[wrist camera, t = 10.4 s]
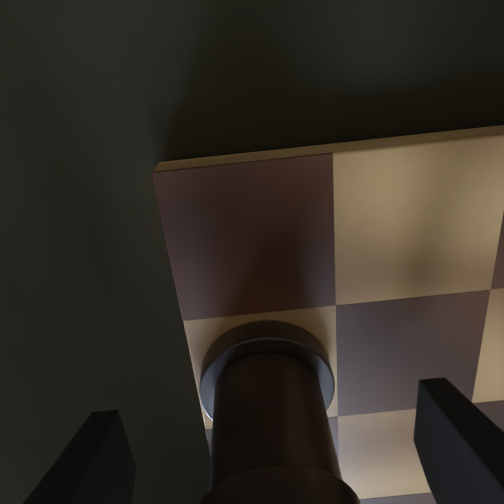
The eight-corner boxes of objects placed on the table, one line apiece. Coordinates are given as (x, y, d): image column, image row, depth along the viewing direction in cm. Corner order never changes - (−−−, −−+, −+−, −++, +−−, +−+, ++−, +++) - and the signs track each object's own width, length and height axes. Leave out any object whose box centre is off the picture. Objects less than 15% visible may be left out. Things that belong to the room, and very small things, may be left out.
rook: (331, 412, 13) (380, 612, 9) (210, 424, 13) (198, 629, 9) (328, 312, 12) (387, 494, 7) (191, 326, 12) (163, 516, 7)
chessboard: (612, 571, 20) (629, 596, 19) (246, 606, 20) (246, 631, 19) (840, 87, 10) (891, 93, 10) (157, 161, 11) (151, 172, 10)
